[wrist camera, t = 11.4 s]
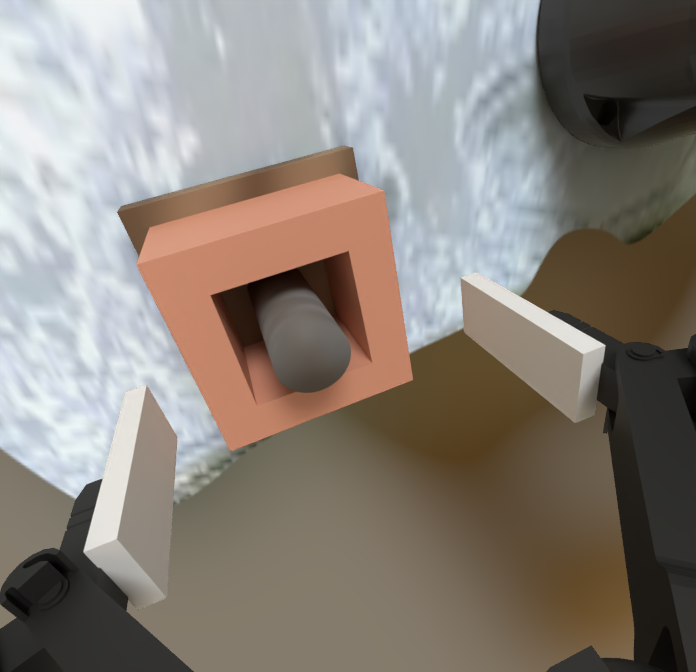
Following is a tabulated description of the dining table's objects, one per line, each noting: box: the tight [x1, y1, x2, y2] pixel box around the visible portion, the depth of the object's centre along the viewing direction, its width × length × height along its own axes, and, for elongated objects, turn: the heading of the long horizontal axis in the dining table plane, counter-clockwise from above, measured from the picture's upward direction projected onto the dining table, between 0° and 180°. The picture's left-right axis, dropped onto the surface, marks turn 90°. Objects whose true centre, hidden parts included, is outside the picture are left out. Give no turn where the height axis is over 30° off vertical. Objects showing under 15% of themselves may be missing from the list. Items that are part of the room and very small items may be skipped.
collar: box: [136, 174, 413, 451], centre depth 21 cm, size 10×10×6 cm
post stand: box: [117, 146, 359, 393], centre depth 21 cm, size 12×12×10 cm
